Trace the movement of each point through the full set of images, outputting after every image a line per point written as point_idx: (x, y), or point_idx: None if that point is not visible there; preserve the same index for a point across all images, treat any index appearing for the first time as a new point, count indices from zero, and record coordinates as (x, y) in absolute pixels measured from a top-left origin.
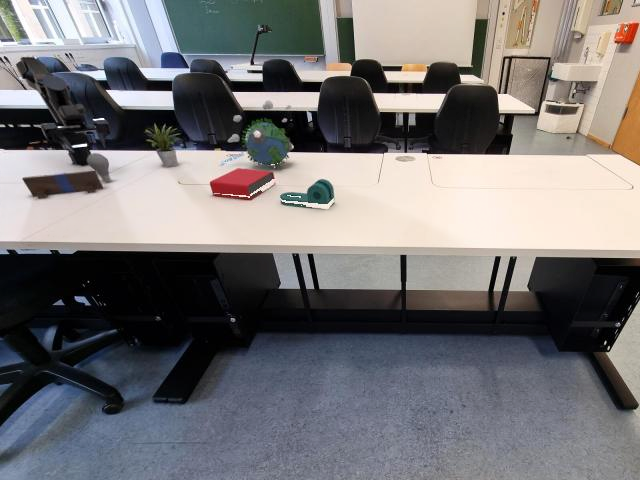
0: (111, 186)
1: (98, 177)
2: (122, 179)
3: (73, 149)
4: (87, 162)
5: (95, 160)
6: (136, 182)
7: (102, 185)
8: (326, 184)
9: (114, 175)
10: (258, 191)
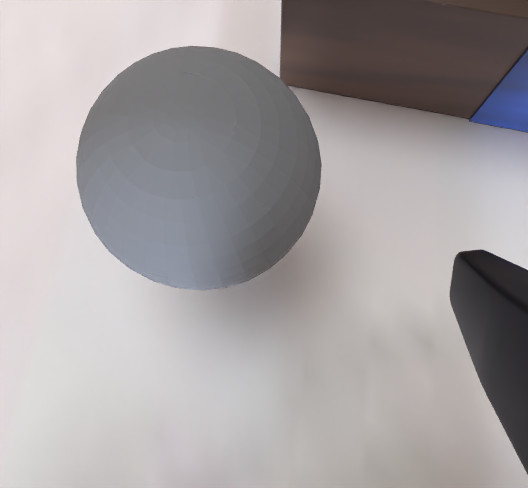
0: None
1: (281, 23)
2: None
3: (480, 257)
4: (320, 161)
5: (222, 49)
6: (44, 84)
7: (280, 69)
8: None
9: (137, 429)
10: None
